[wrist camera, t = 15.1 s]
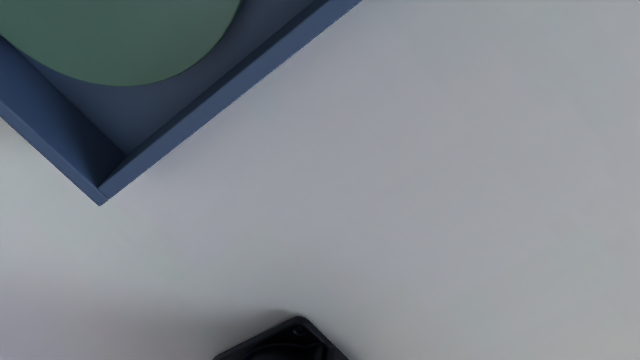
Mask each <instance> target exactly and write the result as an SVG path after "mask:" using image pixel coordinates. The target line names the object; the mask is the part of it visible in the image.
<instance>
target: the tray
mask: <svg viewBox="0 0 640 360" xmlns="http://www.w3.org/2000/svg"><path fill="white" fill-rule="evenodd" d="M361 1H362V0H244V2H243V5H242V7H241V9H240V11H239V14H238V16H237V18H236V20H235V21H234V23H233V24H232V26H231V27H230V29H229V31H228V32H227V34H226V35H225V36H224V37H223V39H222V40H221V41H220V42H219V43H218V44H217V45H216V47H215V48H214V49H213V50H212V51H211V52H210V53H209V54H208V55H207V56H205V57H204V58H203V59H202V60H201V61H199V62H198V63H197V64H196V65H194V66H193V67H191V68H189V69H188V70H186V71H185V72H183V73H181V74H179V75H177V76H174V77H172V78H170V79H167V80H165V81H161V82H157V83H153V84H149V85H143V86H133V87H115V86H105V85H98V84H92V83H88V82H85V81H81V80H78V79H74V78H71V77H69V76H66V75H64V74H61V73H59V72H56V71H54V70H52V69H50V68H48V67H46V66H45V65H43V64H41V63H39V62H37V61H35V60H34V59H32V58H31V57H29V56H28V55H26V54H25V53H23V52H22V51H20V50H19V49H17V48H16V47H15V46H14V45H12V44H11V43H10V42H9V41H8V40H6V39H5V38H4V37H3V36H1V35H0V117H1V118H2V119H3V120H5V121H6V122H7V123H8V124H9V125H10V126H11V127H12V128H13V129H15V130H16V131H17V132H18V133H19V134H20V135H21V136H22V137H23V138H24V139H26V140H27V141H28V142H29V143H30V144H31V145H32V146H33V147H34V148H35V149H37V150H38V151H39V152H40V153H41V154H42V155H43V156H44V157H45V158H46V159H48V160H49V161H50V162H51V163H52V164H53V165H54V166H55V167H56V168H57V169H59V170H60V171H61V172H62V173H63V174H64V175H65V176H66V177H67V178H68V179H70V180H71V181H72V182H73V183H74V184H75V185H76V186H77V187H78V188H79V189H81V190H82V191H83V192H84V193H85V194H86V195H87V196H88V197H89V198H91V199H92V200H93V201H94V202H95V203H96V204H97V205H98V206H101V205H103V204H104V203H105V202H107V201H108V200H109V199H110V198H112V197H113V196H114V195H115V194H117V193H118V192H119V191H121V190H122V189H123V188H124V187H126V186H127V185H128V184H129V183H131V182H132V181H133V180H135V179H136V178H137V177H138V176H140V175H141V174H142V173H143V172H145V171H146V170H147V169H148V168H150V167H151V166H152V165H154V164H155V163H156V162H157V161H159V160H160V159H161V158H162V157H164V156H165V155H166V154H168V153H169V152H170V151H171V150H173V149H174V148H175V147H176V146H178V145H179V144H180V143H182V142H183V141H184V140H185V139H187V138H188V137H189V136H190V135H192V134H193V133H194V132H195V131H197V130H198V129H199V128H201V127H202V126H203V125H204V124H206V123H207V122H208V121H209V120H211V119H212V118H213V117H215V116H216V115H217V114H218V113H220V112H221V111H222V110H223V109H225V108H226V107H227V106H229V105H230V104H231V103H232V102H234V101H235V100H236V99H237V98H239V97H240V96H241V95H242V94H244V93H245V92H246V91H248V90H249V89H250V88H251V87H253V86H254V85H255V84H256V83H258V82H259V81H260V80H262V79H263V78H264V77H265V76H267V75H268V74H269V73H270V72H272V71H273V70H274V69H276V68H277V67H278V66H279V65H281V64H282V63H283V62H284V61H286V60H287V59H288V58H289V57H291V56H292V55H293V54H295V53H296V52H297V51H298V50H300V49H301V48H302V47H303V46H305V45H306V44H307V43H309V42H310V41H311V40H312V39H314V38H315V37H316V36H317V35H319V34H320V33H321V32H323V31H324V30H325V29H326V28H328V27H329V26H330V25H331V24H333V23H334V22H335V21H336V20H338V19H339V18H340V17H342V16H343V15H344V14H345V13H347V12H348V11H349V10H350V9H352V8H353V7H354V6H356V5H357V4H358V3H359V2H361Z"/></svg>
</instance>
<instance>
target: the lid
mask: <svg viewBox="0 0 640 360" xmlns="http://www.w3.org/2000/svg"><path fill="white" fill-rule="evenodd" d="M243 2H244V0H0V35H1V36H3V37H4V38H5V39H6V40H8V41H9V42H10V43H11V44H12V45H14V46H15V47H16V48H17V49H19V50H20V51H22V52H23V53H25V54H26V55H28V56H29V57H31V58H32V59H34V60H35V61H37V62H39V63H41V64H43V65H45V66H46V67H48V68H50V69H52V70H54V71H56V72H59V73H61V74H64V75H66V76H69V77H71V78H74V79H78V80H81V81H85V82H88V83H92V84H98V85H105V86H115V87H133V86H143V85H149V84H153V83H157V82H161V81H165V80H167V79H170V78H172V77H174V76H177V75H179V74H181V73H183V72H185V71H186V70H188V69H189V68H191V67H193V66H194V65H196V64H197V63H198V62H199V61H201V60H202V59H203V58H204V57H205V56H207V55H208V54H209V53H210V52H211V51H212V50H213V49H214V48H215V47H216V45H217V44H218V43H219V42H220V41H221V40H222V39H223V37H224V36H225V35H226V34H227V32H228V31H229V29H230V27H231V26H232V24H233V23H234V21H235V20H236V18H237V16H238V14H239V11H240V9H241V7H242V5H243Z"/></svg>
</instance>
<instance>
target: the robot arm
mask: <svg viewBox="0 0 640 360" xmlns="http://www.w3.org/2000/svg"><path fill="white" fill-rule="evenodd" d="M298 327H301V328H298ZM213 360H349V359H348V358H347V357H346V356H345V355H344V354H343V353H342V352H341V351H340V350H338V349H337V348H336V347H335V346H334V345H333V344H332V343H331V342H330V341H329V340H328V339H327V338H326V337H325V336H324V335H323V334H322V333H321V332H320V331H319V330H318V329H317V328H316V327H315V326H314V325H313V324H312V323H311V322H310V321H309V320H307V319H306V318H303V317H295V318H292V319H290V320H288V321H286V322H284V323H283V324H281V325H279V326H277V327H275V328H273V329H271V330H269V331H267V332H265V333H263V334H261V335H259V336H257V337H255V338H253V339H251V340H249V341H247V342H245V343H243V344H241V345H239V346H237V347H235V348H233V349H231V350H229V351H227V352H225V353H223V354H221V355H219V356H217V357H215V358H214V359H213Z"/></svg>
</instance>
